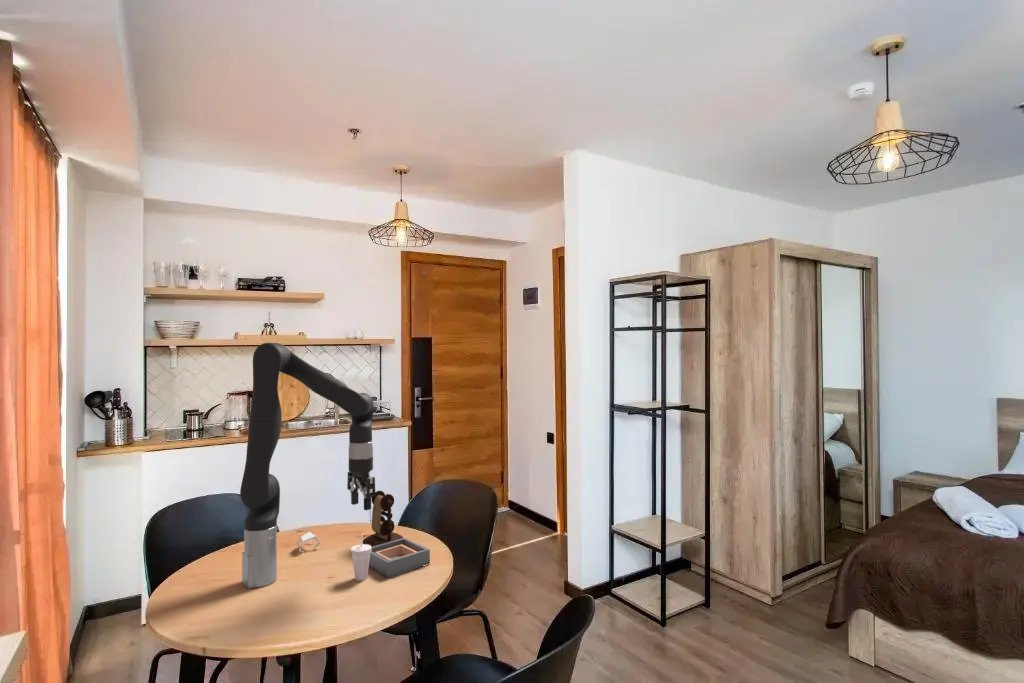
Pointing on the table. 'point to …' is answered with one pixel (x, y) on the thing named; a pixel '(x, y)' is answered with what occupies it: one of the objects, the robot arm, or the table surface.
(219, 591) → the table surface
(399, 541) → the socket box
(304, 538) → the origami figure
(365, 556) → the smoothie
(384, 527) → the scroll
